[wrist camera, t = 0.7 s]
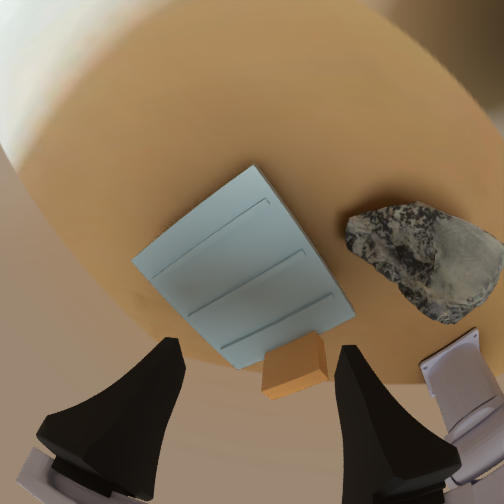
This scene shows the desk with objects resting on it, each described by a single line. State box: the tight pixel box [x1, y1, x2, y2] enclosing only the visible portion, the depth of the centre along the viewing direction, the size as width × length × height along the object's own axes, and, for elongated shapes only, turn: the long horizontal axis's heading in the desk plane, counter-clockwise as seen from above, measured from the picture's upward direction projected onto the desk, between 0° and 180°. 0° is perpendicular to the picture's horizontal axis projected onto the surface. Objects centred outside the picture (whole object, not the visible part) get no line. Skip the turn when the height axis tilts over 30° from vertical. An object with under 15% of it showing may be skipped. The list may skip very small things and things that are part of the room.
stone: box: [345, 201, 504, 324], centre depth 16 cm, size 10×10×10 cm
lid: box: [131, 163, 356, 400], centre depth 15 cm, size 12×10×4 cm
